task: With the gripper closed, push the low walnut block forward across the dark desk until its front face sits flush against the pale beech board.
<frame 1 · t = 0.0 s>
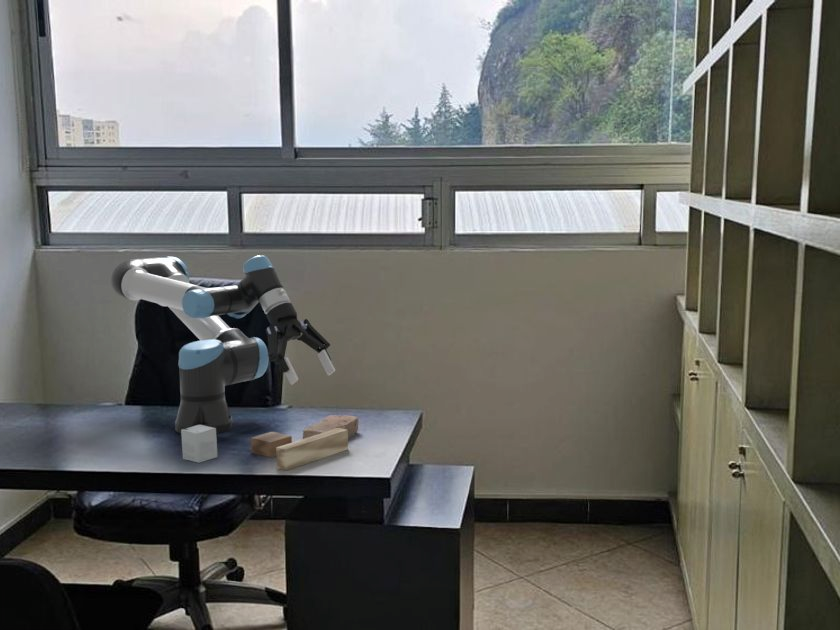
hand: (313, 377, 231), 15 cm above the table, fingers open, 13 cm apart
brick: (331, 440, 230), on the table
board: (313, 458, 213), on the table
block: (271, 452, 219), on the table
skincare box: (200, 459, 214), on the table
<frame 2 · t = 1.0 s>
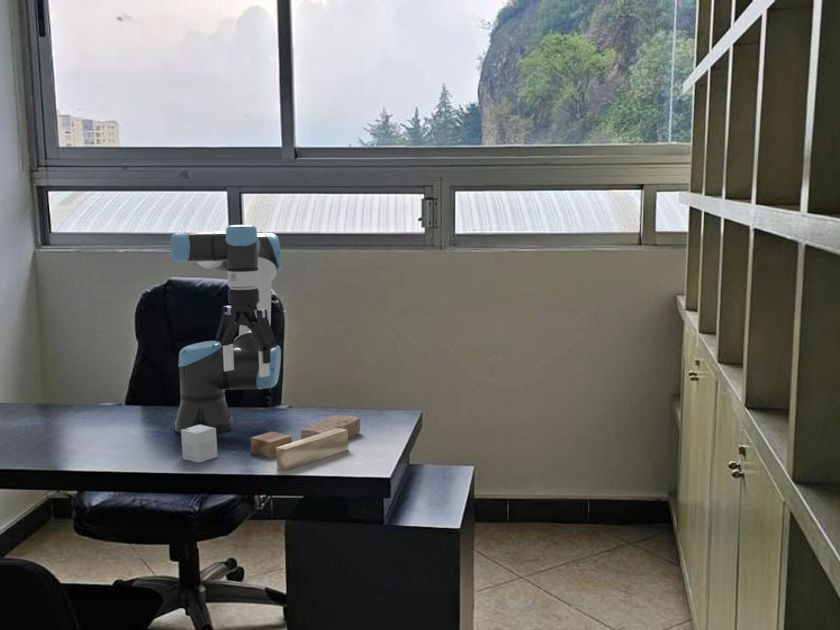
hand: (246, 373, 222), 18 cm above the table, fingers open, 12 cm apart
nothing on the table moved.
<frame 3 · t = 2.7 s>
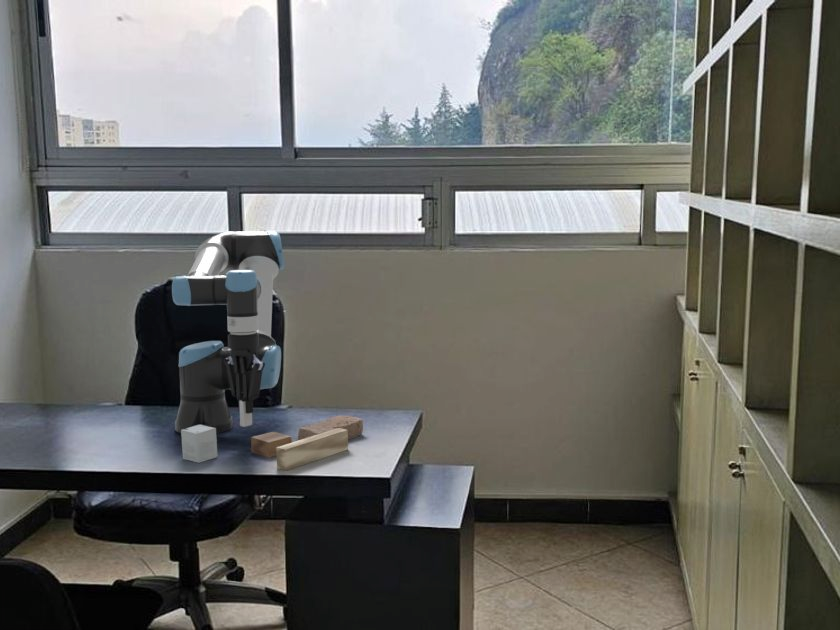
hand: (246, 425, 223), 5 cm above the table, fingers closed
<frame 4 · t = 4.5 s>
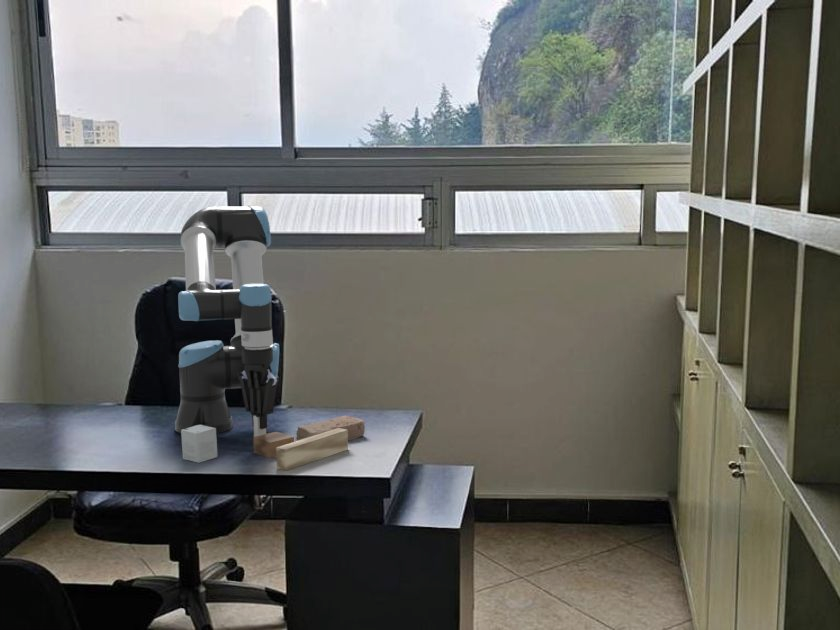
hand: (260, 440, 220), 2 cm above the table, fingers closed
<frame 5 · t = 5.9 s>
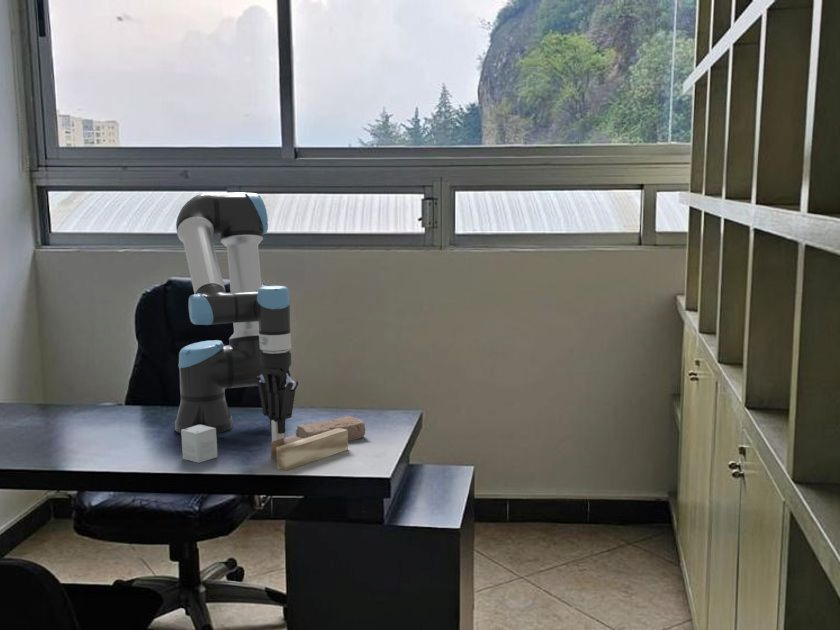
hand: (278, 445, 217), 2 cm above the table, fingers closed
block: (291, 457, 215), on the table
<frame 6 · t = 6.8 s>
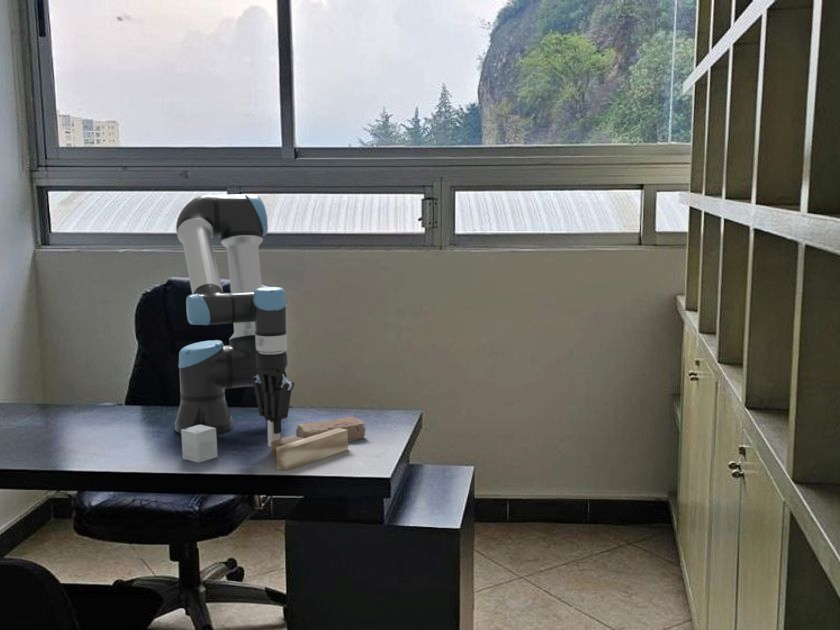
hand: (274, 445, 218), 2 cm above the table, fingers closed
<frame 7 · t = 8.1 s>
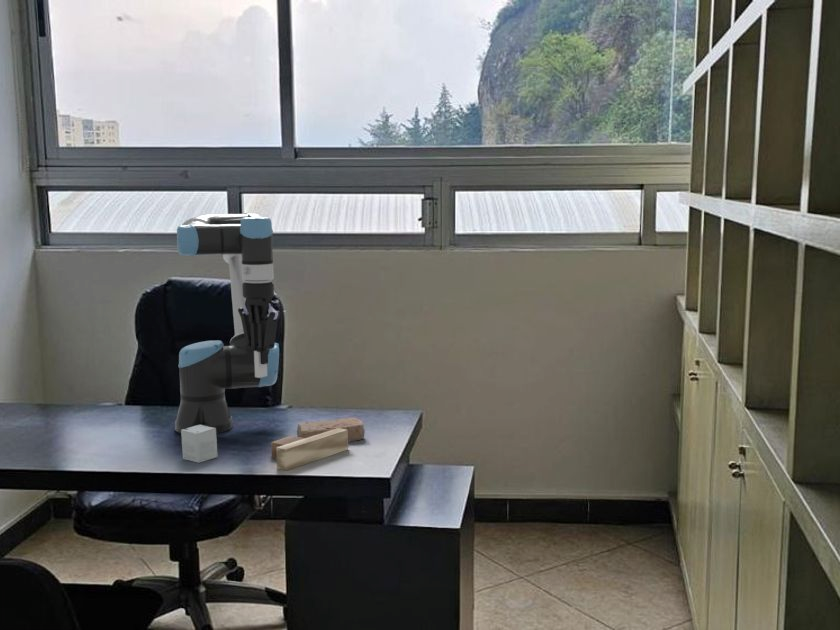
hand: (261, 376, 218), 18 cm above the table, fingers closed
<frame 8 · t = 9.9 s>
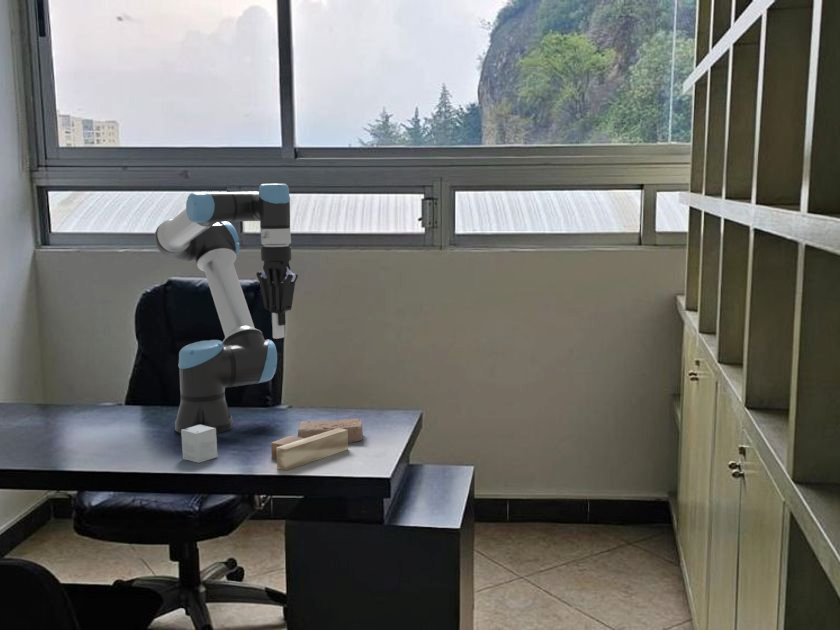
hand: (278, 337, 227), 26 cm above the table, fingers closed
at the end: block inside the target area on the table beside the board (0.5 cm from its centre), on the table; block tilted 0°; block moved 6.9 cm from its start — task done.
